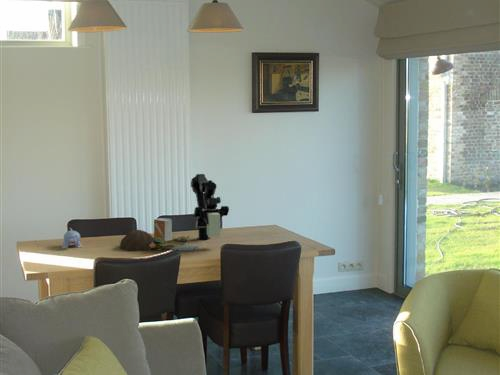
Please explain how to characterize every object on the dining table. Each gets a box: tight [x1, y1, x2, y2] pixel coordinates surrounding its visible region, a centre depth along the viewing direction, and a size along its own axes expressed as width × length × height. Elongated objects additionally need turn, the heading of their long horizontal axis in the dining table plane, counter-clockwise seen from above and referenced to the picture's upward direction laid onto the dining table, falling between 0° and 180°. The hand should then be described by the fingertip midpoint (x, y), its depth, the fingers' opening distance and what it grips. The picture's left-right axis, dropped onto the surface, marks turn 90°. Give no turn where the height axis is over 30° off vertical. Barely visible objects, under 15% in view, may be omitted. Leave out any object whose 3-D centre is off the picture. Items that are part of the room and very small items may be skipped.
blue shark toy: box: [61, 227, 83, 249], centre depth 399 cm, size 11×15×10 cm
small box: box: [153, 217, 173, 241], centre depth 413 cm, size 8×6×13 cm
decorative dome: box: [119, 229, 155, 252], centre depth 398 cm, size 19×20×10 cm
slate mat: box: [169, 244, 199, 253], centre depth 396 cm, size 12×12×1 cm
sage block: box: [207, 213, 221, 238], centre depth 398 cm, size 6×6×12 cm
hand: (213, 223), depth 396 cm, fingers closed on sage block, 6 cm apart
